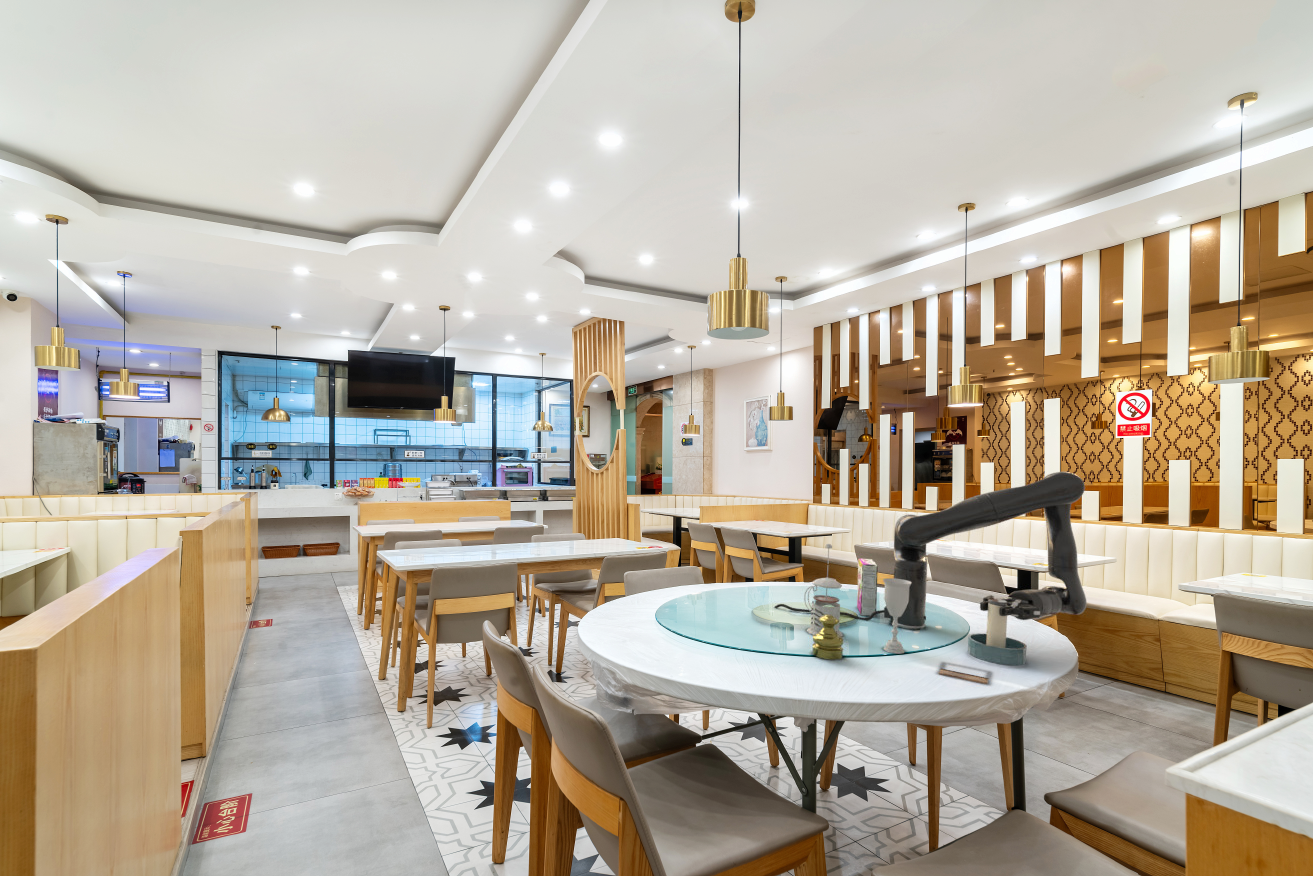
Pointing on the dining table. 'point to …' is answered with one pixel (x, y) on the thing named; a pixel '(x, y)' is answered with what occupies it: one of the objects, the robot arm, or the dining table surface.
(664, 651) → the dining table surface
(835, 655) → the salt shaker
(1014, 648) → the bowl
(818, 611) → the french press
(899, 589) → the chalice
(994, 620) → the cream shaker
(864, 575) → the candy bar box
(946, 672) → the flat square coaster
